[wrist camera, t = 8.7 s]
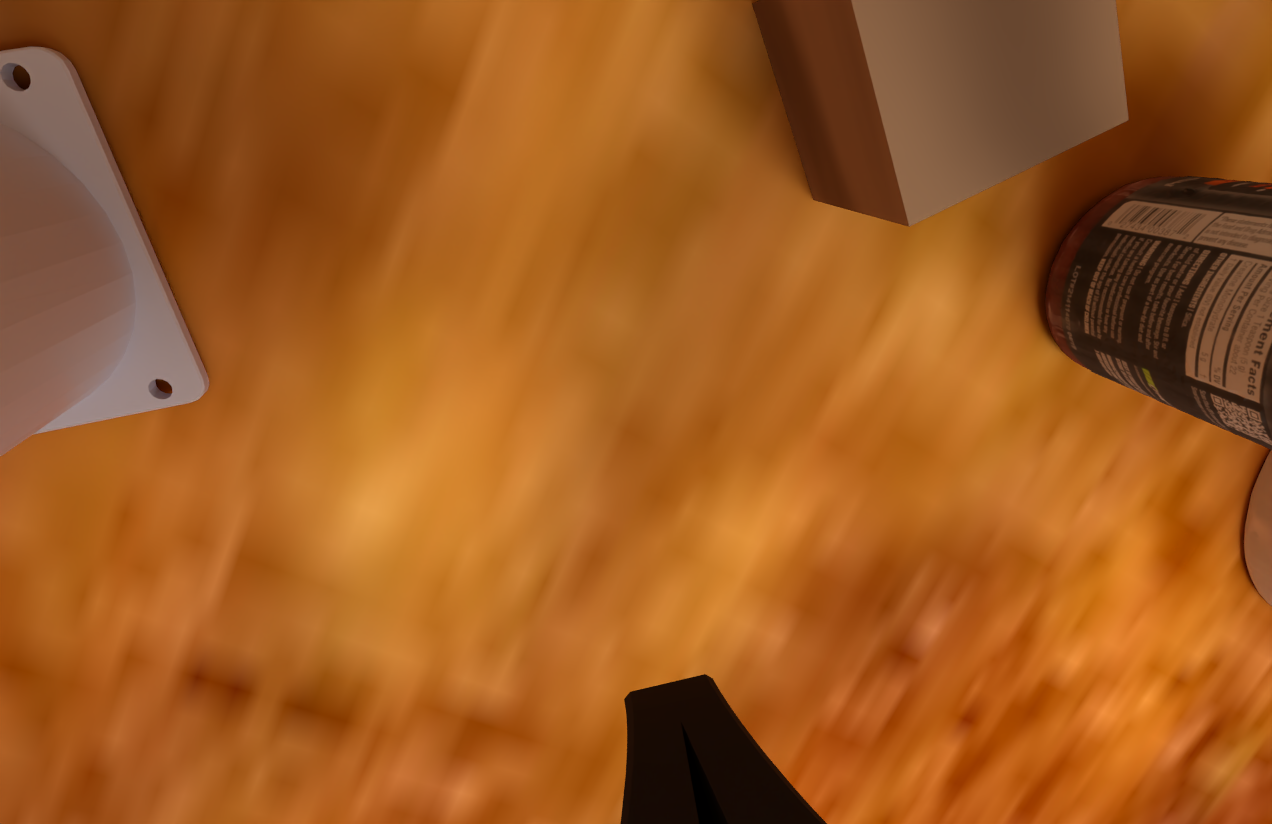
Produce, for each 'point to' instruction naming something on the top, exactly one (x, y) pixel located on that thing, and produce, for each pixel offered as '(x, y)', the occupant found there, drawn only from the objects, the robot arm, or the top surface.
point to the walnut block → (938, 93)
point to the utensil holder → (1260, 532)
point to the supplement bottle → (1174, 297)
